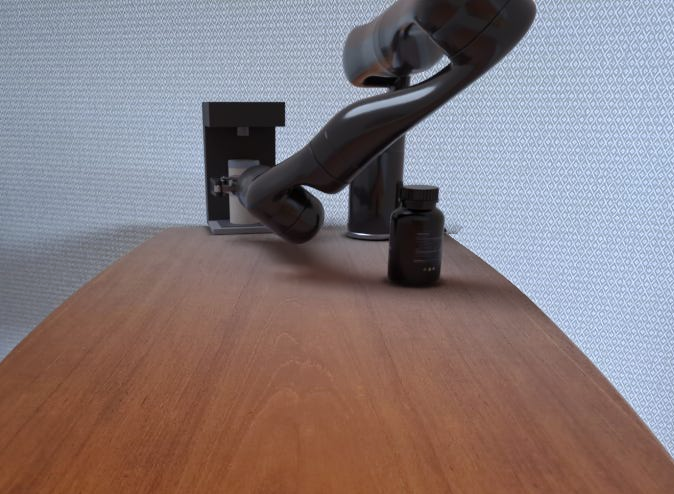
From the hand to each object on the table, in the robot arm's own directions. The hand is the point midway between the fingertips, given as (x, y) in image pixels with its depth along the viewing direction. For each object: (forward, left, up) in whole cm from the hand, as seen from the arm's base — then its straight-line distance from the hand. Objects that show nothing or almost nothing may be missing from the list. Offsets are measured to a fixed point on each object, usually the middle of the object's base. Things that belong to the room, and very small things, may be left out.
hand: (248, 181), depth 118 cm
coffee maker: (+2, -5, -9) cm, 11 cm away
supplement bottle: (-28, +32, -9) cm, 43 cm away
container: (+2, -5, -8) cm, 9 cm away
